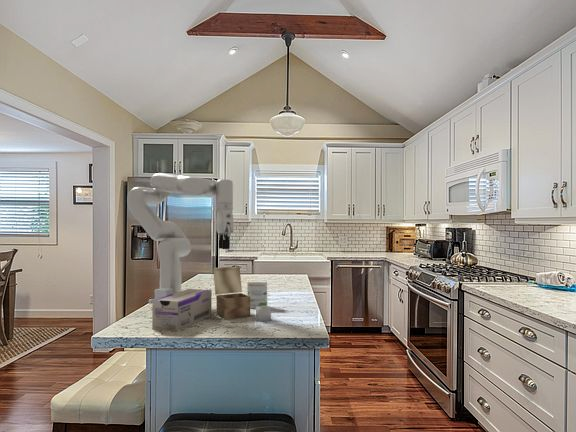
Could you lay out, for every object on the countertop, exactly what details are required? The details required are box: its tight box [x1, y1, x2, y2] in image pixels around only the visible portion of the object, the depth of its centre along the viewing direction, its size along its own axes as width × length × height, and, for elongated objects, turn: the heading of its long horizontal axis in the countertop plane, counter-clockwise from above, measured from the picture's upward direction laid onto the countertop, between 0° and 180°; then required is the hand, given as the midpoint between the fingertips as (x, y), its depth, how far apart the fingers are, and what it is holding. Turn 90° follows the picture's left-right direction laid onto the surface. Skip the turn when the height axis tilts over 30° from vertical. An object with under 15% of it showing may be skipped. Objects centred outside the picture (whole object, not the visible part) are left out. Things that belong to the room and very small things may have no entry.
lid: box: [213, 266, 243, 296], centre depth 164 cm, size 12×11×2 cm
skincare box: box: [153, 287, 173, 299], centre depth 153 cm, size 6×4×12 cm
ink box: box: [246, 280, 268, 309], centre depth 175 cm, size 9×5×12 cm, turn 83°
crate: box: [216, 292, 251, 321], centre depth 159 cm, size 11×10×8 cm
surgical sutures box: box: [151, 288, 213, 332], centre depth 149 cm, size 25×11×11 cm, turn 164°
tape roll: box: [255, 305, 272, 323], centre depth 152 cm, size 6×6×5 cm
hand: (224, 248), depth 169 cm, fingers open, 3 cm apart
